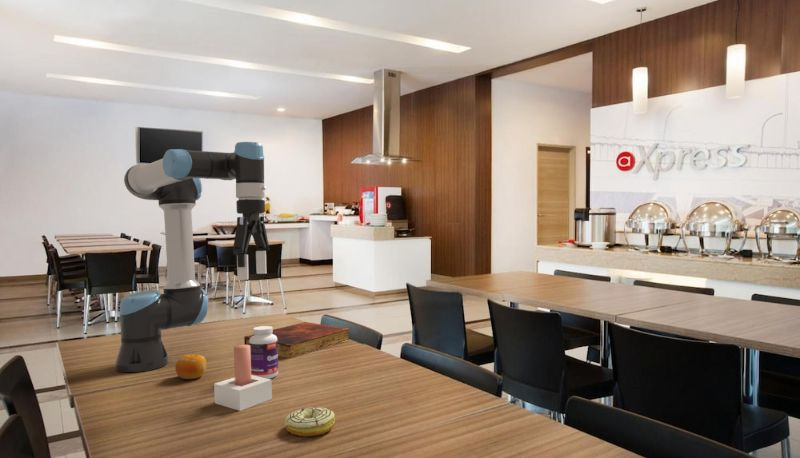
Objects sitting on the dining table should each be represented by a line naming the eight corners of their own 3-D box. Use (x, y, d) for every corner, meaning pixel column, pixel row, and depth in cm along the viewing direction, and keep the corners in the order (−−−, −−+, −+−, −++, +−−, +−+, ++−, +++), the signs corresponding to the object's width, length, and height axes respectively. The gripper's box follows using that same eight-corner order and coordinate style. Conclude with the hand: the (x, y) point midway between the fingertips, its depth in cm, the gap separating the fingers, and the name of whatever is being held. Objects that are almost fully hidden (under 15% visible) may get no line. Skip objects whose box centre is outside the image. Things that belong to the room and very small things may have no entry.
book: (305, 334, 217) (305, 322, 217) (350, 342, 203) (350, 328, 203) (244, 350, 193) (243, 336, 193) (290, 360, 179) (290, 345, 179)
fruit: (217, 363, 162) (200, 342, 161) (197, 381, 155) (179, 359, 154) (202, 372, 166) (186, 352, 165) (182, 390, 159) (165, 369, 158)
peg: (232, 401, 138) (230, 347, 138) (245, 397, 141) (243, 343, 141) (242, 404, 136) (240, 349, 135) (255, 400, 139) (253, 345, 139)
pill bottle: (271, 381, 155) (269, 331, 154) (245, 380, 156) (243, 330, 156) (282, 373, 163) (281, 325, 162) (258, 372, 164) (256, 324, 164)
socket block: (214, 403, 137) (214, 383, 137) (246, 392, 146) (246, 373, 145) (240, 410, 132) (239, 390, 132) (272, 398, 140) (271, 379, 140)
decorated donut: (300, 418, 127) (300, 402, 127) (342, 423, 123) (342, 406, 123) (276, 435, 117) (276, 418, 117) (321, 441, 113) (320, 423, 113)
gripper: (246, 197, 136) (248, 282, 137) (278, 199, 161) (280, 271, 162) (217, 198, 137) (220, 282, 138) (254, 200, 162) (256, 271, 162)
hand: (252, 276), depth 150 cm, fingers open, 13 cm apart
